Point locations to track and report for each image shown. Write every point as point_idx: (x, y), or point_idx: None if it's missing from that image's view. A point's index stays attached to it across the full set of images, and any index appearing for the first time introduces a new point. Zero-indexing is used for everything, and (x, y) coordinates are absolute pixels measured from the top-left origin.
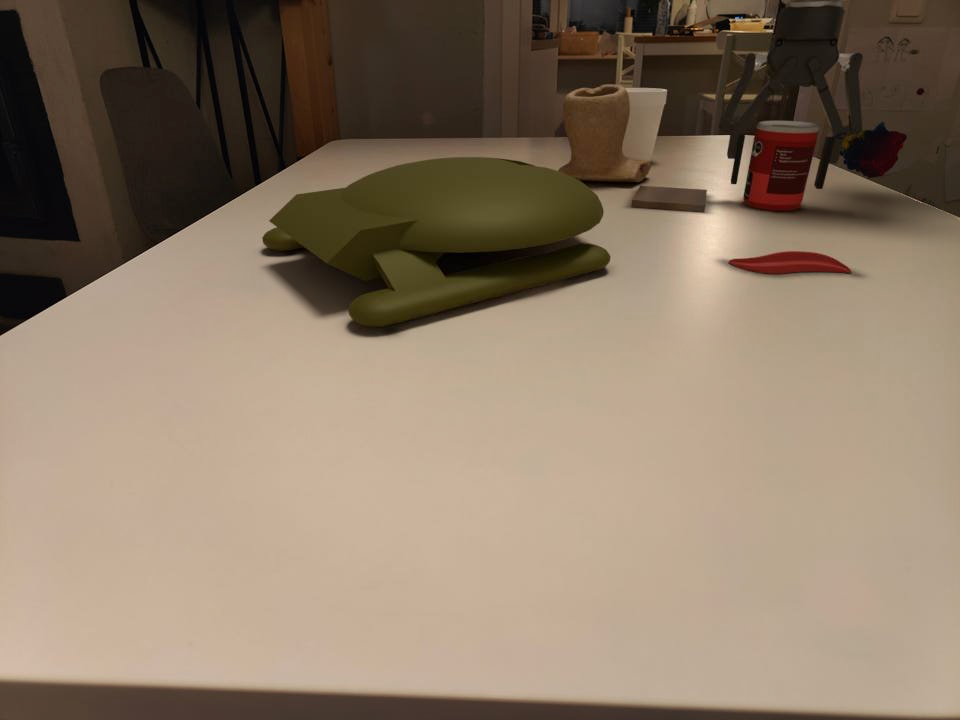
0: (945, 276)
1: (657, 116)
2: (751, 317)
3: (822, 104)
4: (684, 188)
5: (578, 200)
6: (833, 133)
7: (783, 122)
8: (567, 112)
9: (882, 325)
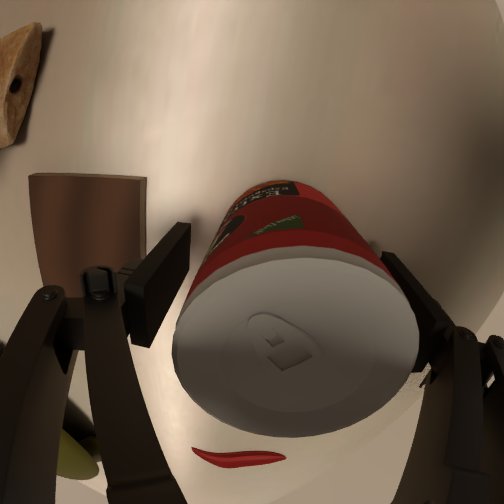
0: (355, 449)
1: None
2: (205, 483)
3: (418, 449)
4: (95, 179)
5: (81, 473)
6: (445, 349)
7: (317, 283)
8: None
9: (269, 487)
